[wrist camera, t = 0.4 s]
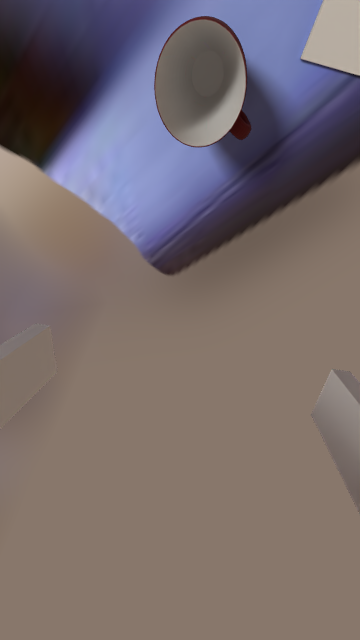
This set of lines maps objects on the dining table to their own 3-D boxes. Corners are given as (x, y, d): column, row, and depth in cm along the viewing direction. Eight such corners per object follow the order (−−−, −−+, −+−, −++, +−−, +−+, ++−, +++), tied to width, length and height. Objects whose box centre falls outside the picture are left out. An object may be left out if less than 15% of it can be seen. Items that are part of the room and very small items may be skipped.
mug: (278, 72, 25) (291, 91, 19) (230, 147, 31) (228, 179, 25) (197, -11, 22) (182, -19, 16) (160, 91, 28) (140, 112, 22)
